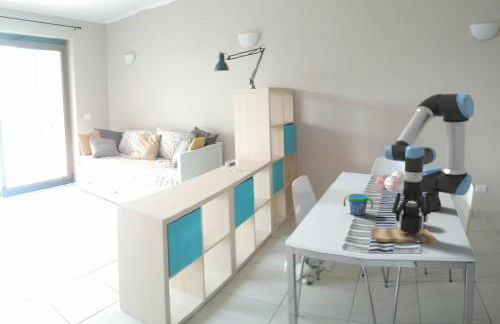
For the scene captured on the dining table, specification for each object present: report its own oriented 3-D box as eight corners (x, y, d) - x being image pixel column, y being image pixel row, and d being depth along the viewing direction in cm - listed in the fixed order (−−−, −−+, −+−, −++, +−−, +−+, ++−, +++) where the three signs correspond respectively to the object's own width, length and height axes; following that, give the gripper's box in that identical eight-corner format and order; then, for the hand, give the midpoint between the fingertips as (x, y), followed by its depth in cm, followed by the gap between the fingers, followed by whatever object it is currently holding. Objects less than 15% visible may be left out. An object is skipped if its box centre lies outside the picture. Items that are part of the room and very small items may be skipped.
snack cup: (340, 214, 204) (341, 196, 202) (347, 209, 213) (347, 191, 211) (368, 219, 195) (369, 200, 193) (374, 213, 204) (375, 195, 202)
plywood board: (426, 232, 176) (426, 229, 176) (436, 243, 163) (437, 239, 163) (369, 231, 179) (370, 228, 178) (376, 241, 166) (376, 238, 166)
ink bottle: (415, 226, 174) (417, 201, 172) (424, 233, 166) (426, 207, 164) (395, 227, 174) (396, 202, 172) (403, 234, 166) (405, 208, 163)
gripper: (390, 182, 163) (387, 230, 167) (441, 182, 161) (438, 231, 165) (385, 178, 170) (383, 224, 175) (435, 178, 168) (431, 225, 172)
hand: (410, 228), depth 170 cm, fingers closed on ink bottle, 9 cm apart
